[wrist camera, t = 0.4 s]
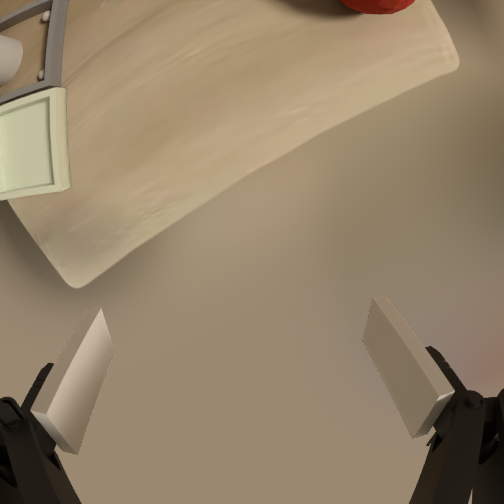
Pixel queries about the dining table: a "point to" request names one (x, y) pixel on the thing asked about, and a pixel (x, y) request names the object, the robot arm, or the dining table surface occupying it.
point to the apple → (377, 5)
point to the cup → (9, 58)
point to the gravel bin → (54, 44)
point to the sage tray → (34, 145)
